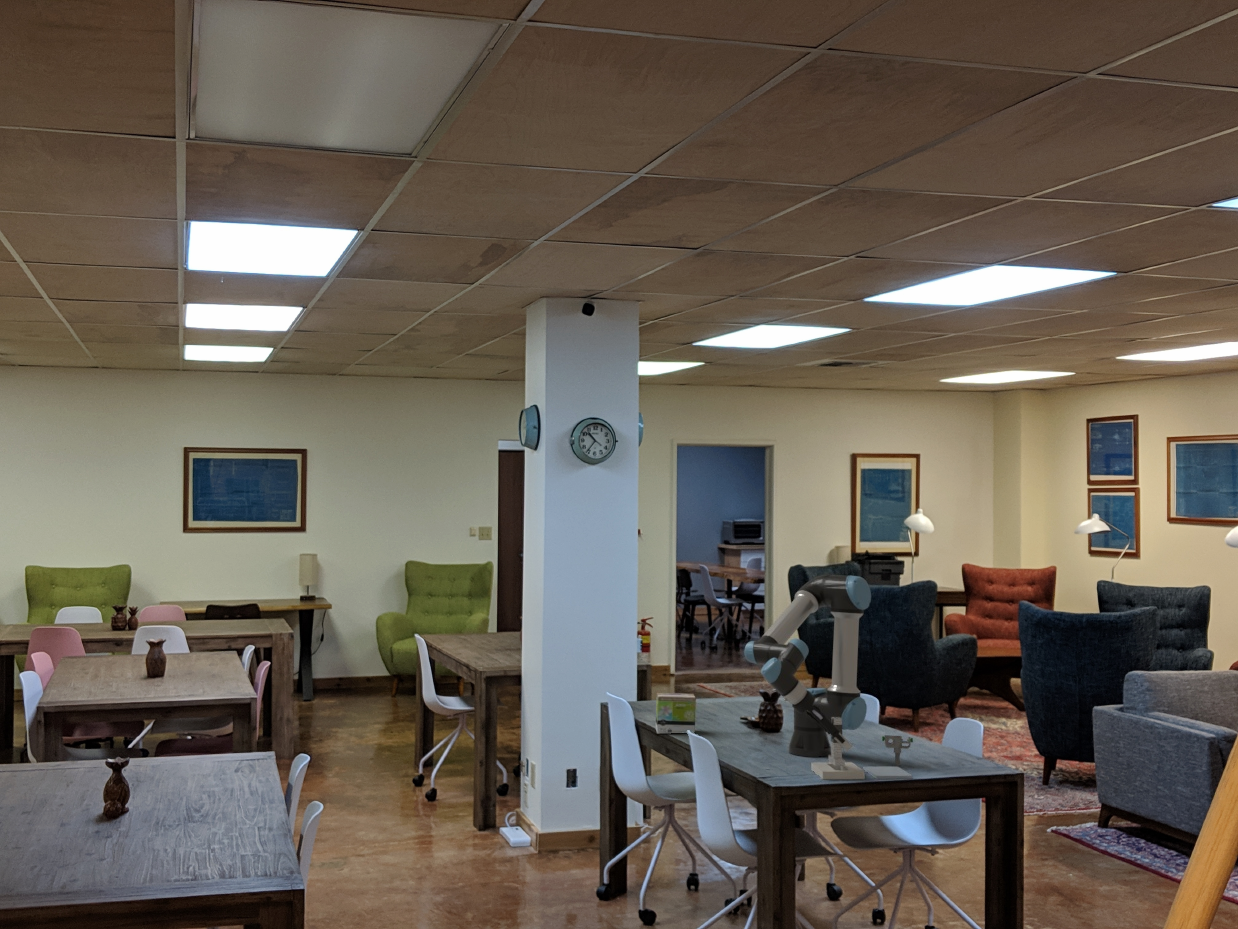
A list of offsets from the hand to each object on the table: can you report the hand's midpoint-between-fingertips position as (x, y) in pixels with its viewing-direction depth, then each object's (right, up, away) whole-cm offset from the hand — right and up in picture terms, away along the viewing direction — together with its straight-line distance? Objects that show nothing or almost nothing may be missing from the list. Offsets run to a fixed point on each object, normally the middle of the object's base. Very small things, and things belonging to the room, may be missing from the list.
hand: (847, 747), depth 385 cm
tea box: (-54, -12, +71) cm, 90 cm away
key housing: (-3, -9, 0) cm, 10 cm away
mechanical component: (+20, -10, +15) cm, 27 cm away
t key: (-4, -5, -1) cm, 6 cm away
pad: (+13, -9, +1) cm, 16 cm away
